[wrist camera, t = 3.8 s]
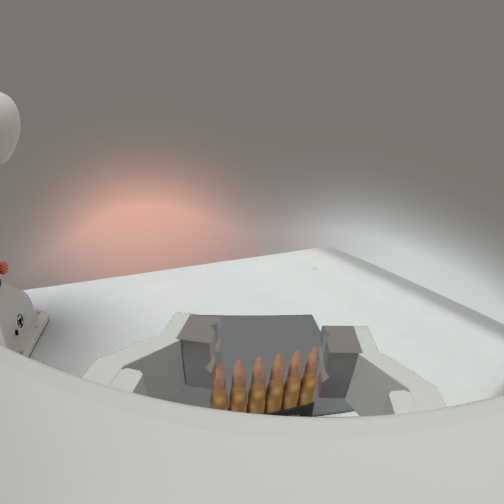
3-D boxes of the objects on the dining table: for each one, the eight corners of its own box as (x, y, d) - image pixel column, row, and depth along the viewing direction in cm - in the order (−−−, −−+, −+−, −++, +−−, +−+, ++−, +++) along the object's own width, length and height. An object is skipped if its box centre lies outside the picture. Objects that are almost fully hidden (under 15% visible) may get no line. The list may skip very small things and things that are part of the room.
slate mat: (179, 316, 52) (179, 314, 52) (311, 316, 54) (311, 314, 54) (154, 417, 29) (154, 414, 29) (356, 410, 31) (357, 408, 31)
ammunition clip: (302, 420, 30) (320, 339, 27) (308, 431, 29) (329, 350, 25) (210, 438, 27) (204, 356, 24) (214, 451, 26) (208, 370, 22)
